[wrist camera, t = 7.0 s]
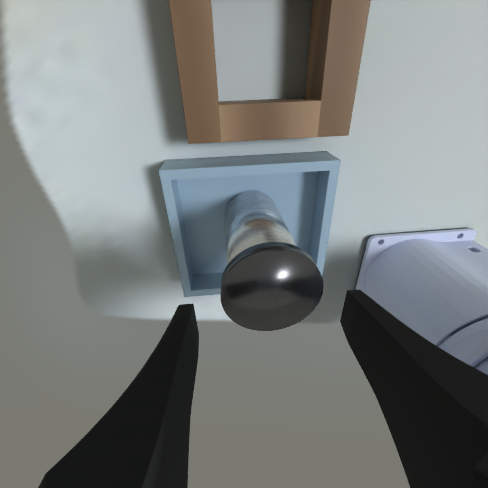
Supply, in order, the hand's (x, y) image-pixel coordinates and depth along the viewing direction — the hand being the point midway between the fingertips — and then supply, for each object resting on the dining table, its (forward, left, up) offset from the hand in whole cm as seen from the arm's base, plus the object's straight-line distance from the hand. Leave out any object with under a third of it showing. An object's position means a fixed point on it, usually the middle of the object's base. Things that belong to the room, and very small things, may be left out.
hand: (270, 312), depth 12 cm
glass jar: (0, -1, -9) cm, 9 cm away
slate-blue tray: (0, 0, -10) cm, 10 cm away
